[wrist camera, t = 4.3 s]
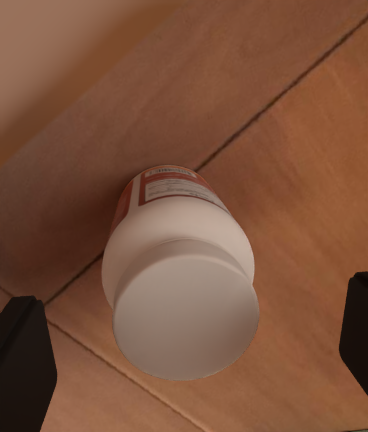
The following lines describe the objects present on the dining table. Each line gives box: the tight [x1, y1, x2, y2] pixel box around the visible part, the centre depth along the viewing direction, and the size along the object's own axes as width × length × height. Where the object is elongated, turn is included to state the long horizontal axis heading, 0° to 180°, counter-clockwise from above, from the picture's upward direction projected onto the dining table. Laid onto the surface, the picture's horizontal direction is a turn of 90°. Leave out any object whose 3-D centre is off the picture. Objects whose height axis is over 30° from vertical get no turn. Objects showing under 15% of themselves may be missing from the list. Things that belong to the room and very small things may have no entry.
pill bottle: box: [102, 165, 259, 381], centre depth 16 cm, size 6×6×11 cm
